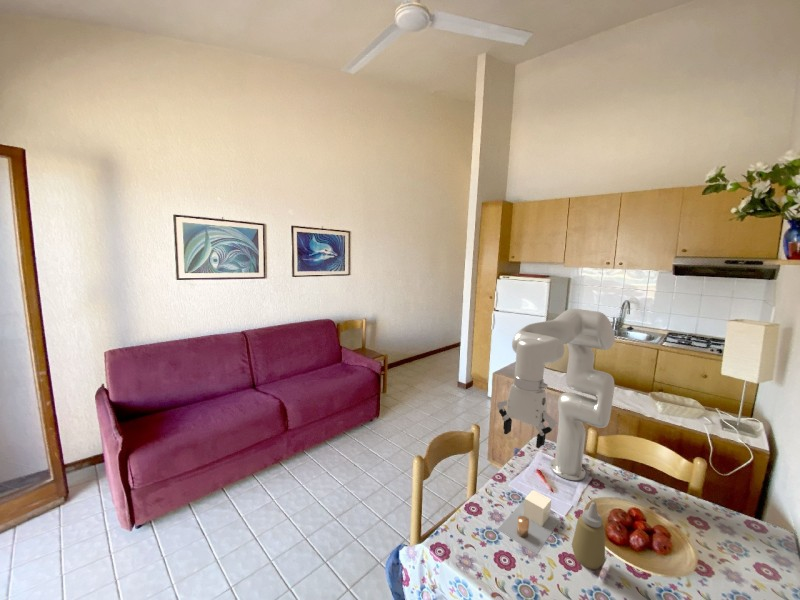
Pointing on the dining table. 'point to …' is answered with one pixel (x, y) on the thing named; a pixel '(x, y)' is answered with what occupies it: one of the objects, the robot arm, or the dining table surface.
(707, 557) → the dining table surface
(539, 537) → the plate
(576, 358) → the robot arm
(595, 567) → the squeeze bottle
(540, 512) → the cream foam brick
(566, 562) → the dining table surface
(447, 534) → the dining table surface
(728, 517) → the dining table surface
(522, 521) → the post
